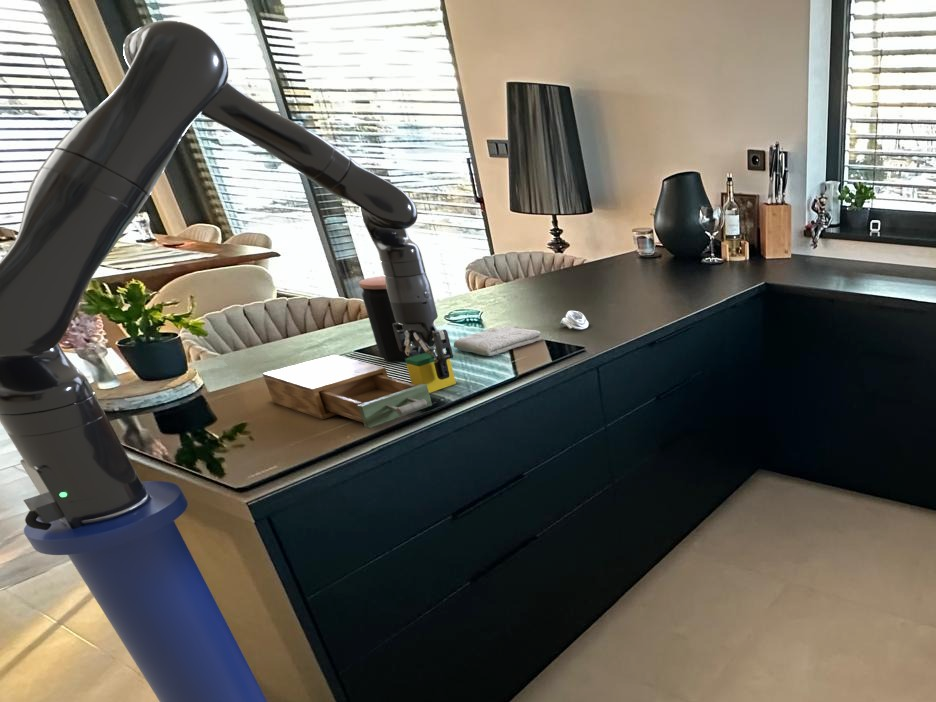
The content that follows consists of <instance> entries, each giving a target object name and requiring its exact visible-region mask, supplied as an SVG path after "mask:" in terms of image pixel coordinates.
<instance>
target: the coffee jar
mask: <svg viewBox="0 0 936 702" xmlns="http://www.w3.org/2000/svg"><path fill="white" fill-rule="evenodd" d="M358 285H359V287H360V288H361V289H362V292H361V296H362V301H363V304H364V308H365V310H366V314H367V318H368V321H369V324H370V328H371V331H372V334H373V338H374V340H375V341H374V342H375V344H376V348H377V352H378V354H379V356H380V358H382V359H383V360H384V361H386V362H389V363H406V361H405V359H406V358H409V356H407V355H406V354H405V351H400V350H399V347H398V344H397V340H396V336H395V333H394V329H393V326H392V324H393V323H397V322H396V321H395V318H394V314H393V310H392V307H391V303H390V300H389V296H388V292H387V289H386V282H385V276H384V275H382V276H373V277H368V278H364V279H361V280H359V281H358ZM402 341H403V345H404V342H405V339H403V340H402ZM419 353H420V354H423V353H426V352H425V351H424V349H423V348H420V352H419Z"/></svg>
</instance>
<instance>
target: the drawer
mask: <svg viewBox="0 0 936 702" xmlns="http://www.w3.org/2000/svg"><path fill="white" fill-rule="evenodd" d="M319 395H320V398H321V401H322V404H323V406H324V409H325V410H327V411H330V412H333V413H336V414H338V415H339V416H341V417H345V418H348V419H350V420H354V421H358V422H360V423H363V426H364V428H366V429H371V428H374V427H377V426H379V425H382V424H384V423H387V422H390V421H393V420H395V419H398V418H401V417H404V416H406V415H410V414H412V413H415V412H418V411H420V410H424V409H426V408H428V407H431V406H433V403H432V399H431V395H430V393H429V391H428V387H427V385H426V384H420V385H417V386H415V384H412V383H411V382H408V381H405V380H401V379H398V378H394V377H389V376H388V377H386V376H383V375H379V374H376V375H373V376H369V377H366V378H363V379H359V380H356V381H352V382H349V383H346V384H342V385H339V386H336V387H332V388H329V389H326V390H322V391H319Z"/></svg>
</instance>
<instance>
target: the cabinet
mask: <svg viewBox="0 0 936 702" xmlns="http://www.w3.org/2000/svg"><path fill="white" fill-rule="evenodd" d="M376 374H379V375H383V376H386V377H389V375H388V373H387V369H386V367H384V366H381V365H376V364H373V363H369V362H365V361H362V360H357V359H354V358H350V357H346V356H344V355H339V354H332V355H329V356H325V357H321V358H316V359H313V360H309V361H305V362H301V363H298V364H297V363H296V364H294V365H290V366H289V365H288V366H286V367H282V368H278V369H274V370H269V371H267V372H263V373H262V376H263V379H264V382H265V384H266V387H267V389H268V392H269V395H270V397H271V400H272V402H273V403H274V404H276V405H280V406H283V407H285V408H289V409H292V410H295V411H297V412H299V413H303V414H306V415H309V416H312V417H315V418H317V419H321V420H326V419H329V418H331V417H335V416H337V415H339V414H336V413H333V412H330V411H327V410H325V409H324V406H323V404H322V401H321V398H320V395H319V391H322V390H326V389H329V388H332V387H336V386H339V385H342V384H346V383H349V382H352V381H356V380H359V379H363V378H366V377H369V376H373V375H376Z"/></svg>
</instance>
